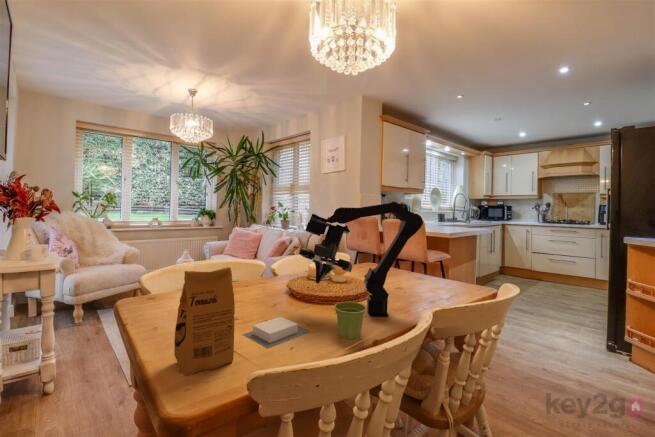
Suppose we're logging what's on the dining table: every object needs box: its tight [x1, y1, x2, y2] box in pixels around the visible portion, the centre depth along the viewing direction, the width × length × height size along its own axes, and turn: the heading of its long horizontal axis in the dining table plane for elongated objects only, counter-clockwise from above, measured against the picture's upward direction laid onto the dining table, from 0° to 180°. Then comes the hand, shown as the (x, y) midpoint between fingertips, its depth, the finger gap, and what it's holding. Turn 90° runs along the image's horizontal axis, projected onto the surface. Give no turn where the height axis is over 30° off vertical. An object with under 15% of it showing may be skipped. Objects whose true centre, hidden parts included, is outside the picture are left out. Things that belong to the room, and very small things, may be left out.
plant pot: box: [333, 301, 367, 340], centre depth 88 cm, size 9×9×9 cm
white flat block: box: [252, 316, 299, 343], centre depth 87 cm, size 3×8×10 cm
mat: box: [242, 325, 312, 349], centre depth 88 cm, size 16×12×1 cm
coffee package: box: [173, 266, 236, 377], centre depth 70 cm, size 10×12×22 cm
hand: (317, 283), depth 103 cm, fingers closed
